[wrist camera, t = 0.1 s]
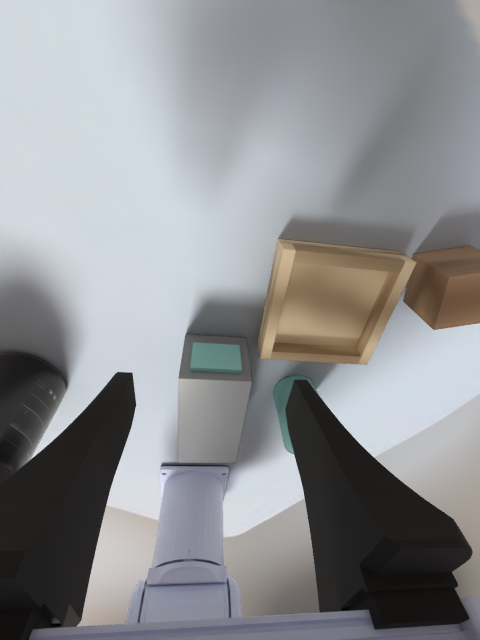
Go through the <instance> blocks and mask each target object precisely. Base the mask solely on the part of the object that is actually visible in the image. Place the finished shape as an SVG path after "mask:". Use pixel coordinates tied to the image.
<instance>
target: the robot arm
mask: <svg viewBox="0 0 480 640" xmlns="http://www.w3.org/2000/svg"><path fill="white" fill-rule="evenodd" d="M135 407H136V400H135V392H134V383H133V374H132V373H125V372H117V373H116V374H115V375H114V376H113V377H112V379H111V380H110V381H109V382H108V384H107V385H106V386H105V387H104V388H103V390H102V391H101V392H100V393H99V394H98V395H97V397H96V398H95V399H94V400H93V401H92V402H91V403H90V404H89V405H88V407H87V408H86V409H85V410H84V411H83V412H82V413H81V414H80V415H79V416H78V417H77V418H76V419H75V420H74V421H73V422H72V423H71V424H70V425H69V426H68V427H67V428H66V429H65V430H64V431H63V432H62V433H61V434H60V435H59V436H58V437H57V438H56V439H54V440H53V441H52V442H51V443H50V444H49V445H48V446H47V447H45V448H44V449H43V450H42V451H41V452H40V453H38V454H37V455H36V456H35V457H33V458H32V459H31V460H30V461H28V462H27V463H26V464H25V465H24V466H22V467H21V468H20V469H18V470H17V471H16V472H15V473H13V474H12V475H11V476H9V477H8V478H6V479H5V480H4V481H2V482H1V483H0V640H480V596H468V597H464V598H461V599H460V598H459V596H458V595H457V593H456V591H455V589H454V588H456V587H457V586H458V584H457V581H456V579H455V578H454V576H453V574H452V571H454V570H455V569H457V568H458V567H460V566H461V565H462V564H464V563H465V562H466V561H468V560H469V559H470V558H471V556H472V549H471V547H470V545H469V544H468V542H467V541H466V539H465V537H464V535H463V534H462V532H461V531H460V529H459V527H458V526H457V524H456V523H455V521H454V519H452V518H451V517H449V516H448V515H447V514H445V513H444V512H442V511H441V510H439V509H438V508H436V507H435V506H434V505H432V504H431V503H429V502H428V501H426V500H425V499H424V498H422V497H421V496H419V495H418V494H417V493H416V492H414V491H413V490H412V489H410V488H409V487H408V486H406V485H405V484H404V483H403V482H401V481H400V480H399V479H398V478H396V477H395V476H394V475H393V474H392V473H390V472H389V471H388V470H387V469H386V468H385V467H384V466H382V465H381V464H380V463H379V462H378V461H377V460H376V459H375V458H374V457H373V456H372V455H371V454H369V453H368V452H367V451H366V450H365V449H364V448H363V447H362V446H361V445H360V444H359V443H358V442H357V441H356V440H355V438H354V437H353V436H352V435H351V434H350V433H349V432H348V431H347V430H346V429H345V427H344V426H343V425H342V424H341V423H340V422H339V420H338V419H337V418H336V417H335V415H334V414H333V413H332V412H331V411H330V409H329V408H328V407H327V405H326V404H325V403H324V402H323V400H322V399H321V398H320V396H319V395H318V394H317V392H316V391H315V390H314V388H313V387H312V386H311V384H310V383H309V382H308V381H307V380H295V379H294V382H293V385H292V389H291V392H290V395H289V398H288V402H287V405H286V408H285V412H286V419H287V426H288V432H289V436H290V440H291V444H292V447H293V451H294V455H295V458H296V462H297V466H298V470H299V473H300V477H301V481H302V486H303V490H304V496H305V502H306V508H307V514H308V520H309V526H310V533H311V540H312V548H313V556H314V563H315V572H316V581H317V589H318V599H319V609H320V613H305V614H287V615H270V616H253V617H242V609H241V599H240V591H239V587H238V585H237V583H236V582H235V581H234V578H233V577H227V566H224V563H223V562H224V559H223V499H224V493H225V488H226V483H227V477H228V472H229V469H228V467H215V466H162V467H161V468H160V488H161V508H160V515H159V521H158V528H157V534H156V542H155V548H154V555H153V561H152V567H151V568H149V571H148V578H147V579H142V580H140V581H139V583H138V584H137V585H136V586H135V588H134V589H133V591H132V594H131V598H130V602H129V607H128V611H127V616H126V621H125V624H116V625H98V626H81V627H76V626H77V625H78V624H79V622H80V621H81V618H82V613H83V608H84V603H85V598H86V593H87V587H88V583H89V578H90V573H91V569H92V564H93V559H94V554H95V550H96V545H97V541H98V537H99V533H100V528H101V524H102V520H103V516H104V512H105V507H106V504H107V500H108V496H109V492H110V488H111V485H112V482H113V478H114V475H115V473H116V470H117V467H118V464H119V461H120V458H121V455H122V452H123V450H124V447H125V444H126V441H127V438H128V435H129V432H130V429H131V425H132V421H133V417H134V412H135Z"/></svg>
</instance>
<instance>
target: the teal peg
mask: <svg viewBox="0 0 480 640" xmlns="http://www.w3.org/2000/svg"><path fill="white" fill-rule="evenodd" d="M294 379H295V380H307V381H308V382H309V383H310V384H311V386H312V387H313V388H314V390H315V391H316V389H315V386H314V383H313V382H312V380H311V379H309V378H308V377H305V376H301V375H294V376H289V377H286V378H284V379H282V380H281V381H279V382H278V383H277V384H276V386H275V387H274V391H273V393H274V398H275V403H276V408H277V413H278V417H279V422H280V427H281V432H282V437H283V441H284V446H285V448H286V450H287V451H288V452H290V453H292V454H294V451H293V447H292V444H291V440H290V436H289V432H288V426H287V419H286V412H285V408H286V405H287V402H288V398H289V395H290V392H291V389H292V385H293V382H294ZM316 392H317V391H316Z"/></svg>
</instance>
